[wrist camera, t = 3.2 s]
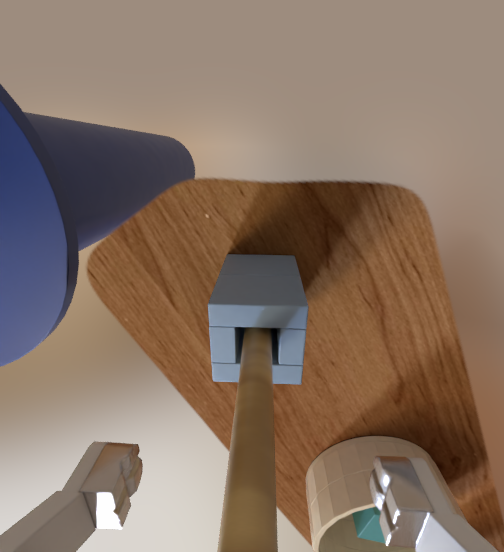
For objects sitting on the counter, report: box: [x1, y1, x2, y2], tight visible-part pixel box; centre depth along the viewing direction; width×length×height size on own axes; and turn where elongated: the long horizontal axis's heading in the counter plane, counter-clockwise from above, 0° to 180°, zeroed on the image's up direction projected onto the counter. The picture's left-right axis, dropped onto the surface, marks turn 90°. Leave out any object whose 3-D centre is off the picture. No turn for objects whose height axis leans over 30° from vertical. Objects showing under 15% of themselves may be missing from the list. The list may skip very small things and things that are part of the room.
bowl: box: [306, 436, 468, 552], centre depth 29 cm, size 14×14×6 cm
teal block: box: [352, 507, 386, 543], centre depth 29 cm, size 4×4×4 cm
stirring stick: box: [217, 327, 278, 552], centre depth 13 cm, size 2×2×15 cm
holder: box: [208, 254, 308, 384], centre depth 20 cm, size 5×5×8 cm
